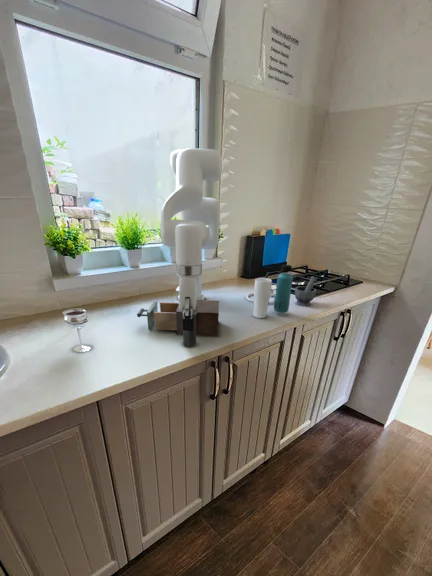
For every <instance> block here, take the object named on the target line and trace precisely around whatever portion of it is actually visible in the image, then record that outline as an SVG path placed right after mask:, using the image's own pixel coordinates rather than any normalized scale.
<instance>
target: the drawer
mask: <svg viewBox="0 0 432 576" xmlns="http://www.w3.org/2000/svg"><path fill="white" fill-rule="evenodd" d="M178 305H179V302H165V301H160V302H159V310H158V300H153V301H152V303H151V305H150V307H149V308H148V309H144V308H143V307H142V308H140V309H139V310H138V312H137V313H136V317H137V318H141V317H146V318H147V331H148V332H152V331H153V329H154V328H155V330H158V331H177V325H176V311H177V308H178ZM144 312H145V313H144Z"/></svg>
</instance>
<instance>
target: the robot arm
mask: <svg viewBox="0 0 432 576" xmlns="http://www.w3.org/2000/svg"><path fill="white" fill-rule="evenodd" d="M169 162H170V167H171V170H172V172H173V174H174V176H175V191H173V192H171V194H170V195H169V196H168V197H167V198H166V199H165V202H164V203H163V205H162V207H161V211H160V224H159V225H160V227H159V232H160V240H161V243H162V244H163V245H164V246H166V247H168V248H175V271H176V273H175V274H176V276H177V277H179V283H178V286H177V288H175V292H177V293H178V296H177V299H178V303H179V309H180V310H183V330H184V331H193V318H192V315H193V311H194V310H195V307H196V303H197V300H206V296H205V295H204V294H202V292H203V291H202V289H203V284H202V282H203V261H202V260H203V250H215V249H216V248H217V247H218V245H219V238H220V219H221V208H220V203H219V200H218V199H217V198H214V197H206V196H205V197H204V181H206V182H207V181H209V182H218V181H219V180H220V179H221V176H222V173H223V172H222V171H223V160H222V156H221V153H220V151H218V149H213V148H196V147H195V148H194V147H189V148H184V149H176V150H173V151H172V152H171V153H170V158H169ZM179 213H180V219H172V218H173V217H174V216H176V215H177V214H179ZM183 308H184V309H183ZM189 311H191V313H190V312H189Z"/></svg>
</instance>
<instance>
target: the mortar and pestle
mask: <svg viewBox="0 0 432 576" xmlns="http://www.w3.org/2000/svg"><path fill="white" fill-rule="evenodd" d="M316 281H317V277H315V276H310V279H309V281H308V283H307V285H306V286H296V287H295V288H294V297H295V299H296V305H298V306H301V307H308V306H310V305H311V302H312V301H313V300H314V299H315V298H316V295H317V289H316V288H314V285H315V282H316Z"/></svg>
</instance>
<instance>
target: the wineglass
mask: <svg viewBox="0 0 432 576" xmlns="http://www.w3.org/2000/svg"><path fill="white" fill-rule="evenodd" d="M62 315H63V316H64V317H63V321H64V323H65V325H66V326H67V327H69V328H70V329H73V330H75V331H77V332H76V333H77V336H78V340H79V344H80V345H79V346H75V347H74V348H73V351H74V352H77V353H83V352H88V351H89V350H90V349H91V346H89V345H85V344H84V345H83V343H82V336H81V330H82V328H84V327H85V326H86V325H87V324H88V321H89V316H88V315H87V310H86V309H84V308H69V309H66V310H64V311H62Z"/></svg>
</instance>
